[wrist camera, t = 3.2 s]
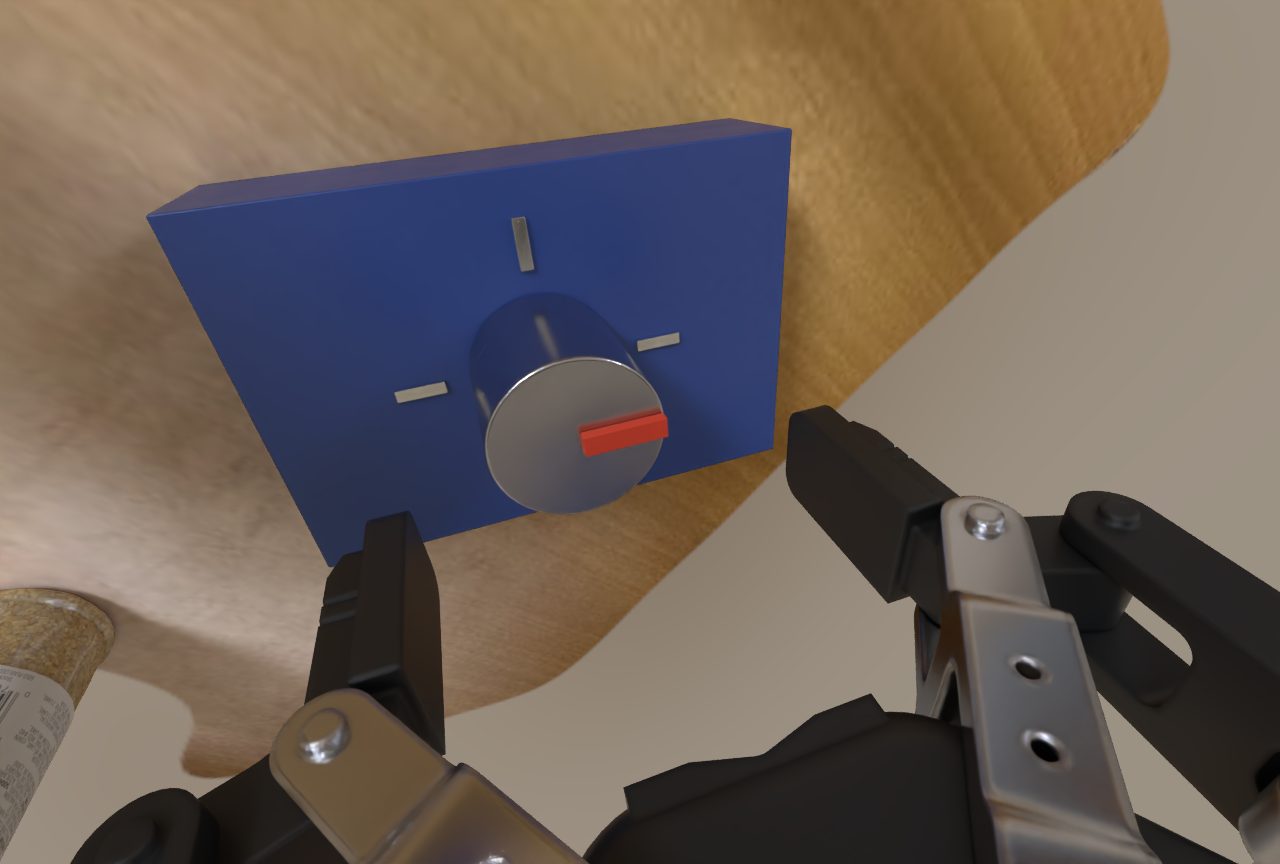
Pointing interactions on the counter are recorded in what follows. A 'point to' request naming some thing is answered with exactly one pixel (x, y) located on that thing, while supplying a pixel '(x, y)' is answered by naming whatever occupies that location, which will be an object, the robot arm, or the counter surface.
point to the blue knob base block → (484, 304)
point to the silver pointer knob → (562, 406)
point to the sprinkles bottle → (41, 685)
